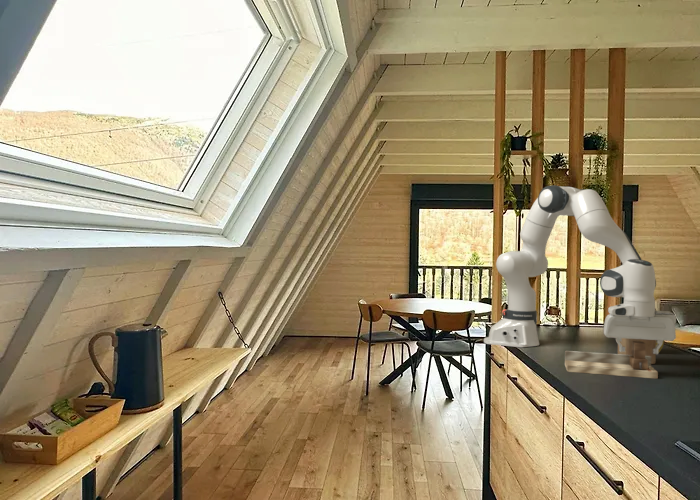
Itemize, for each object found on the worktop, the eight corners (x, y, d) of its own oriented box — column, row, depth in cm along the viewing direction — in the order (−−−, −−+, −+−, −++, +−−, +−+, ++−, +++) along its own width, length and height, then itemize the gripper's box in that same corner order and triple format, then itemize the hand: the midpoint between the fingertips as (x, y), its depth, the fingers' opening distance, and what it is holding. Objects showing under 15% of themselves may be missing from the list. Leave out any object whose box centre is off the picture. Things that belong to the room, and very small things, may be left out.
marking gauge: (633, 369, 164) (634, 343, 164) (629, 364, 170) (629, 340, 170) (648, 370, 162) (648, 344, 162) (643, 365, 169) (643, 341, 169)
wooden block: (656, 365, 180) (657, 307, 180) (625, 363, 182) (626, 306, 182) (646, 359, 190) (646, 304, 190) (616, 357, 192) (617, 303, 192)
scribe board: (567, 371, 169) (567, 356, 169) (564, 365, 178) (564, 350, 178) (657, 378, 161) (657, 362, 161) (650, 371, 170) (650, 356, 170)
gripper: (673, 310, 166) (672, 353, 166) (603, 307, 173) (602, 348, 173) (679, 312, 160) (678, 357, 160) (606, 309, 167) (605, 352, 167)
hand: (638, 352), depth 167 cm, fingers open, 8 cm apart
